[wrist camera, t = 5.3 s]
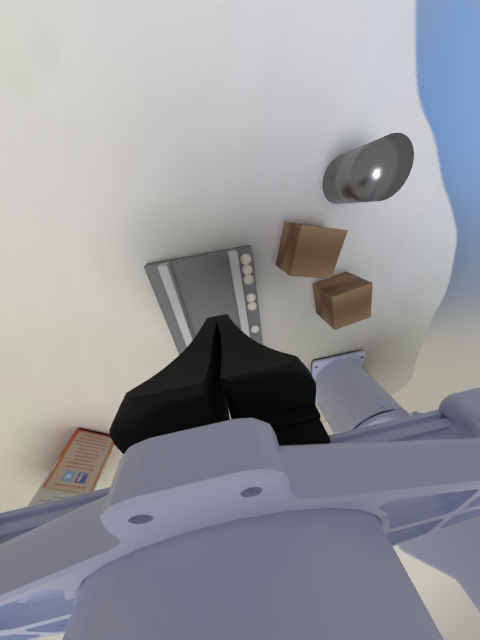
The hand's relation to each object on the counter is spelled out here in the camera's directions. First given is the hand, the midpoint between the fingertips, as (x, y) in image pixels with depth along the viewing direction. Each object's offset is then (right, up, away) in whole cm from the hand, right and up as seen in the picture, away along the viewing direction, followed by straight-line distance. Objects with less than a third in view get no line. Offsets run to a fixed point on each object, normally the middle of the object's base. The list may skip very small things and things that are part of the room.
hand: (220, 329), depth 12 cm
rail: (-2, 0, +11) cm, 11 cm away
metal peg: (+10, +13, +5) cm, 18 cm away
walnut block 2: (+12, +4, +11) cm, 17 cm away
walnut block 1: (+7, +8, +8) cm, 13 cm away
